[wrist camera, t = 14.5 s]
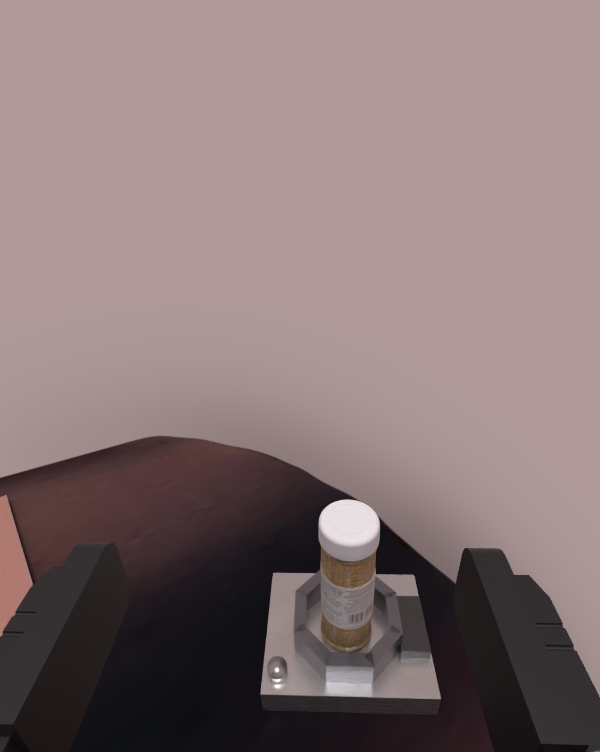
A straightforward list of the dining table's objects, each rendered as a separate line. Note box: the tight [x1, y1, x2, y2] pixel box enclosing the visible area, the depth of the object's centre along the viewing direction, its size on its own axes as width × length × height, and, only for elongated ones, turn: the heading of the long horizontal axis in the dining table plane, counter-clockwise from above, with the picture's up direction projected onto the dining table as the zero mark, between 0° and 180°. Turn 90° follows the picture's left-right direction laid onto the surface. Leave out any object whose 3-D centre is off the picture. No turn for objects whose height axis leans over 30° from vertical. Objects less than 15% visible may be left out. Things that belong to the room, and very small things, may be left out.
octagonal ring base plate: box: [261, 569, 441, 715], centre depth 39 cm, size 14×11×5 cm
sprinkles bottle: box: [319, 500, 380, 653], centre depth 36 cm, size 5×5×13 cm
